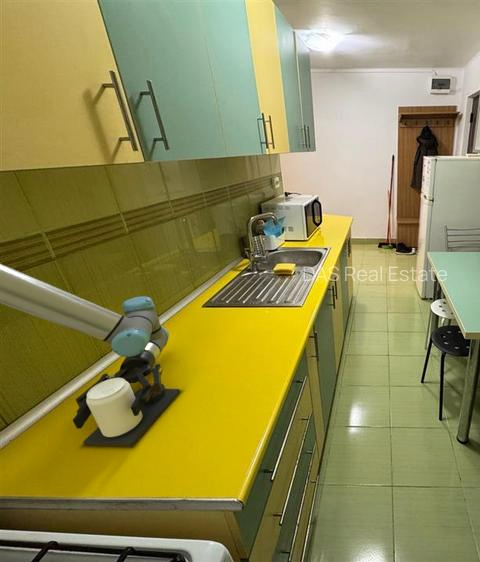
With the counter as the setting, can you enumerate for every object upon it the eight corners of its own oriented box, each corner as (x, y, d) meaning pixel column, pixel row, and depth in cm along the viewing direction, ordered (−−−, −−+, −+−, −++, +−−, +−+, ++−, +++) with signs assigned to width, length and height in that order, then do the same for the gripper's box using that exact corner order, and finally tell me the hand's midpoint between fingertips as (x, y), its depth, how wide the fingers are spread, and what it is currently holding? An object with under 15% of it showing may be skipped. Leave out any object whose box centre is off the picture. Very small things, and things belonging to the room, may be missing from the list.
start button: (152, 396, 83) (150, 391, 83) (139, 396, 83) (137, 391, 83) (161, 387, 87) (159, 382, 86) (149, 387, 87) (147, 382, 86)
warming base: (132, 446, 72) (128, 437, 71) (84, 445, 73) (79, 436, 71) (181, 391, 89) (178, 383, 88) (141, 390, 89) (138, 382, 88)
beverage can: (134, 408, 82) (119, 372, 77) (149, 420, 78) (134, 383, 73) (97, 430, 75) (78, 392, 70) (111, 444, 71) (92, 405, 67)
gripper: (187, 363, 94) (167, 416, 75) (98, 379, 88) (51, 443, 68) (181, 342, 91) (158, 393, 72) (88, 358, 85) (36, 418, 65)
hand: (106, 417), depth 70 cm, fingers open, 10 cm apart
